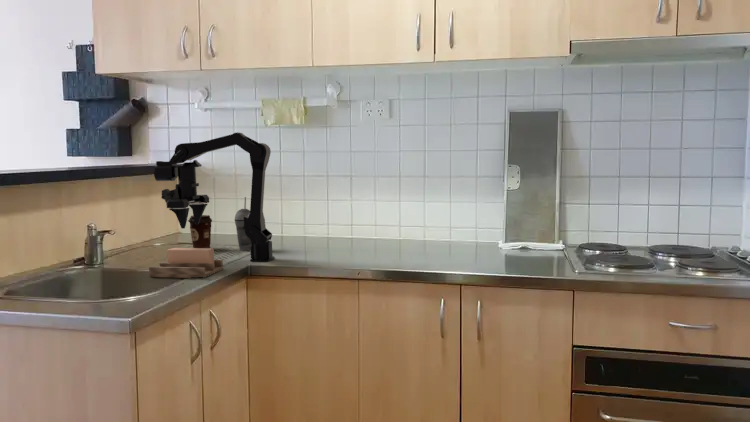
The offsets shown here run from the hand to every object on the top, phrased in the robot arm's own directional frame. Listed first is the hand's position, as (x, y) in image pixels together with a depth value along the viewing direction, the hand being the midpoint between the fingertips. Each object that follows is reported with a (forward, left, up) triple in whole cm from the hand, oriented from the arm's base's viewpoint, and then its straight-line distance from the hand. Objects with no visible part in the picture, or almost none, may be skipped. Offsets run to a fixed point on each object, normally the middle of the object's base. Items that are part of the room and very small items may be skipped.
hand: (190, 226), depth 206 cm
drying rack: (-8, +18, -12) cm, 23 cm away
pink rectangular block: (-8, +15, -11) cm, 20 cm away
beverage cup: (-10, -22, -12) cm, 27 cm away
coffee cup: (+8, -22, -12) cm, 26 cm away
